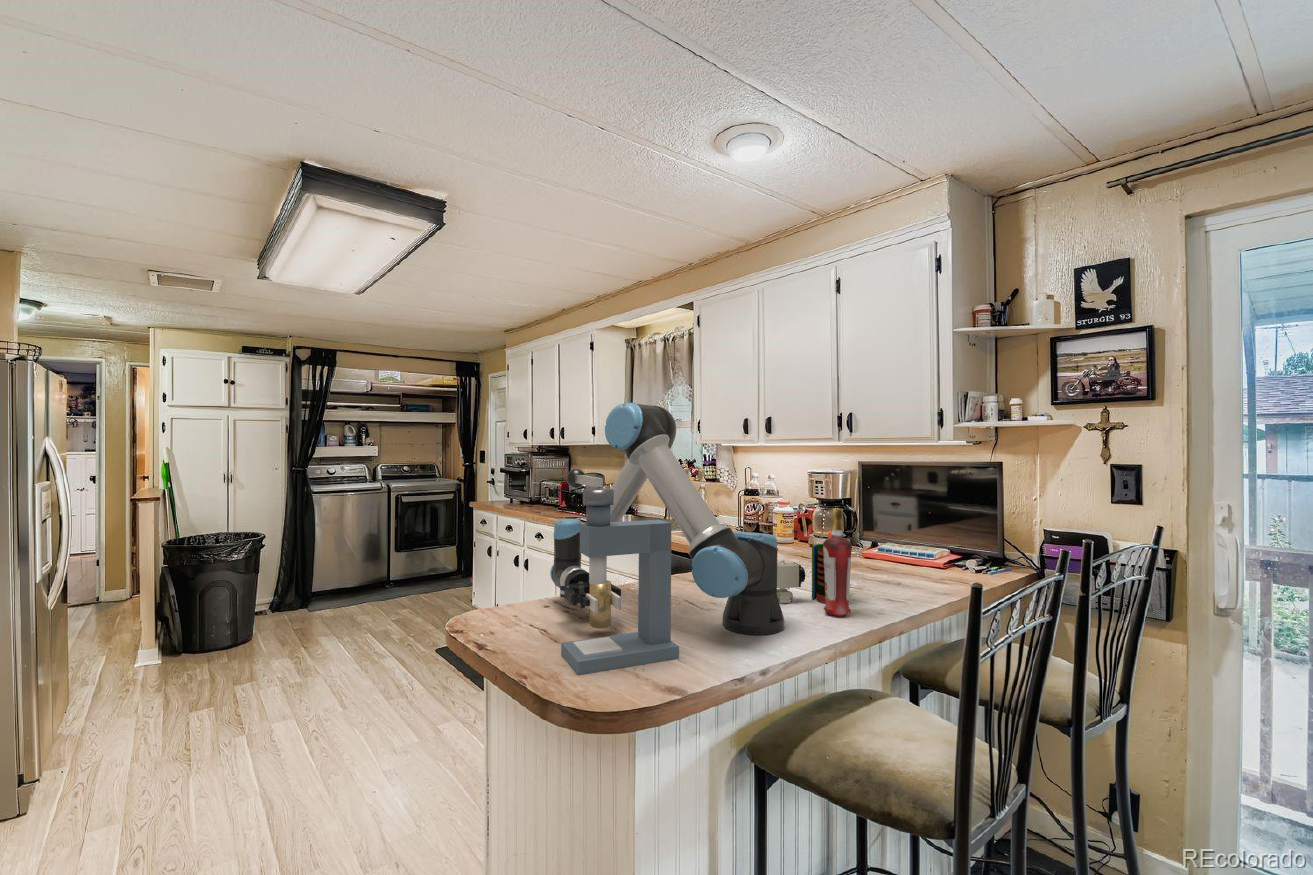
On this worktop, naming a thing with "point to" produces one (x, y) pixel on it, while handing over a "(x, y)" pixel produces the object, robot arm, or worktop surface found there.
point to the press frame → (652, 597)
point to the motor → (818, 572)
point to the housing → (601, 605)
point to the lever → (591, 495)
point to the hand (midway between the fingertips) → (608, 604)
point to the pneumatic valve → (788, 579)
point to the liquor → (837, 569)
